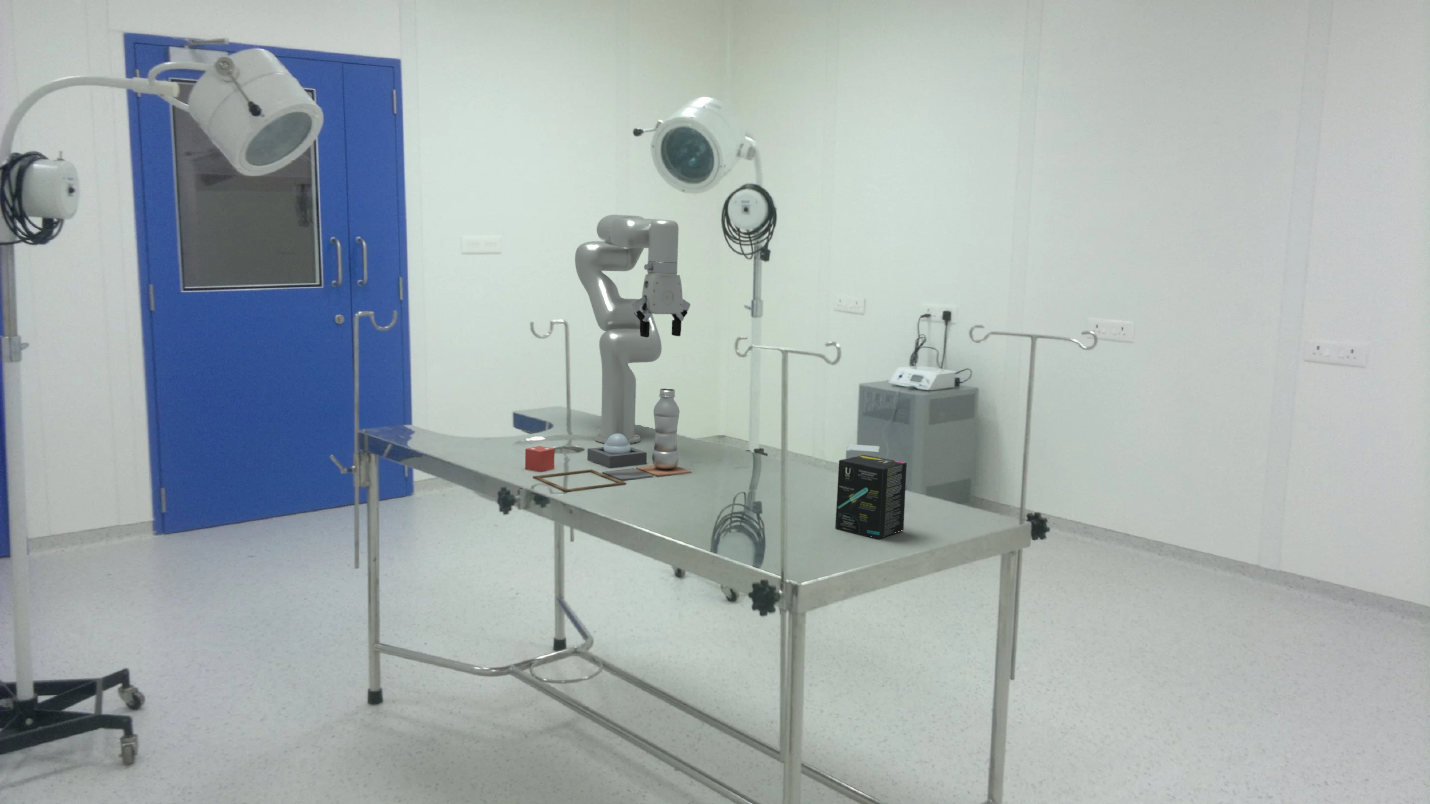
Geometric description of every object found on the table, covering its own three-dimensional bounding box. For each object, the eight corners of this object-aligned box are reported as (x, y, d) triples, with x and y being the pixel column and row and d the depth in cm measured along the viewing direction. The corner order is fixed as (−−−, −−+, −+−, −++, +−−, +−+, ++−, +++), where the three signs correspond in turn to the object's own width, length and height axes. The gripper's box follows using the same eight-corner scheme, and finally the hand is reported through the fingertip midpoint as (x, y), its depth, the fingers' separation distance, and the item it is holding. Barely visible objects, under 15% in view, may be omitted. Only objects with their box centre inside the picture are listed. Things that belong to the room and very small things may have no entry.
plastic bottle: (667, 473, 261) (669, 392, 258) (646, 468, 265) (648, 389, 262) (683, 469, 266) (686, 390, 263) (662, 464, 270) (665, 386, 267)
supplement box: (875, 507, 237) (878, 451, 235) (842, 504, 238) (845, 449, 237) (877, 499, 244) (880, 445, 242) (844, 496, 246) (847, 443, 244)
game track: (532, 477, 253) (532, 476, 252) (662, 462, 275) (662, 461, 274) (565, 492, 240) (565, 490, 240) (698, 475, 262) (698, 473, 262)
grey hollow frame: (587, 459, 274) (587, 448, 274) (623, 455, 281) (624, 444, 280) (609, 468, 266) (609, 456, 265) (646, 463, 272) (646, 452, 272)
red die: (525, 468, 262) (525, 448, 261) (539, 465, 266) (539, 445, 265) (540, 471, 259) (540, 451, 258) (554, 468, 263) (554, 448, 262)
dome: (598, 455, 274) (599, 432, 273) (621, 453, 278) (621, 430, 277) (612, 460, 268) (613, 437, 267) (635, 457, 272) (635, 434, 272)
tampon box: (904, 532, 218) (908, 462, 216) (879, 540, 211) (883, 468, 209) (859, 521, 225) (863, 453, 223) (834, 528, 218) (837, 459, 216)
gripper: (641, 269, 262) (640, 338, 265) (698, 270, 273) (696, 336, 275) (625, 268, 268) (624, 335, 271) (681, 268, 279) (679, 334, 281)
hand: (660, 336), depth 273 cm, fingers open, 9 cm apart
